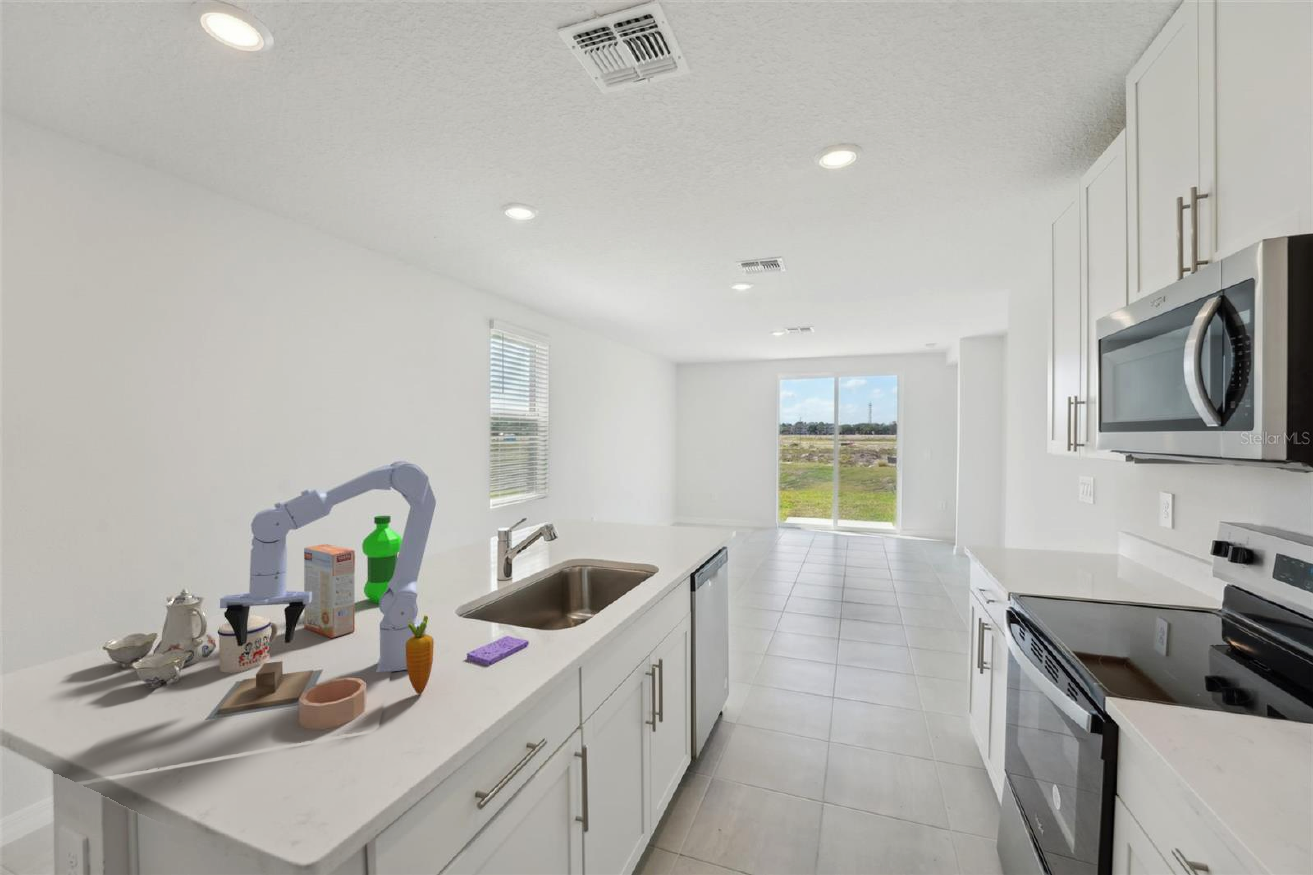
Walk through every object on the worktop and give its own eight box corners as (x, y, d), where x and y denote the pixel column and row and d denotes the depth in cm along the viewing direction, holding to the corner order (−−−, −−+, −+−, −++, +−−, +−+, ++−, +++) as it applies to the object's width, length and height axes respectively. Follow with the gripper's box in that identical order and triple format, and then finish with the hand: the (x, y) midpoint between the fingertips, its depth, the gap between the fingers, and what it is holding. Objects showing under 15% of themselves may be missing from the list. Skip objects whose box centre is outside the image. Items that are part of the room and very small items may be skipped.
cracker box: (356, 631, 135) (356, 549, 135) (331, 639, 130) (331, 554, 130) (328, 620, 143) (327, 542, 143) (303, 627, 138) (302, 546, 137)
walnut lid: (313, 673, 111) (313, 650, 111) (298, 701, 100) (297, 676, 100) (243, 683, 107) (242, 659, 107) (219, 713, 96) (219, 687, 96)
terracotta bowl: (369, 697, 103) (368, 674, 103) (361, 724, 93) (361, 699, 93) (308, 707, 99) (307, 683, 99) (293, 736, 90) (293, 710, 90)
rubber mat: (323, 671, 113) (323, 669, 113) (305, 706, 99) (305, 703, 99) (236, 683, 108) (236, 681, 108) (205, 722, 94) (205, 719, 94)
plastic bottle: (409, 597, 163) (409, 515, 162) (378, 608, 153) (378, 520, 153) (386, 593, 167) (385, 513, 166) (355, 603, 157) (354, 518, 157)
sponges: (466, 661, 120) (466, 652, 120) (507, 641, 131) (507, 634, 131) (488, 668, 117) (488, 659, 117) (529, 647, 128) (529, 640, 128)
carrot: (406, 703, 101) (406, 623, 100) (405, 691, 105) (404, 615, 105) (434, 697, 103) (434, 619, 103) (432, 686, 107) (432, 611, 107)
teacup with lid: (241, 677, 111) (241, 621, 110) (206, 673, 113) (206, 617, 112) (292, 653, 122) (292, 602, 122) (260, 649, 124) (259, 599, 124)
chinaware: (88, 676, 114) (76, 601, 112) (184, 640, 129) (174, 574, 127) (153, 707, 102) (140, 623, 100) (250, 663, 117) (240, 590, 115)
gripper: (213, 579, 97) (210, 654, 97) (305, 575, 102) (302, 647, 102) (230, 569, 104) (228, 639, 104) (316, 566, 108) (313, 634, 108)
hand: (265, 642), depth 103 cm, fingers open, 7 cm apart
